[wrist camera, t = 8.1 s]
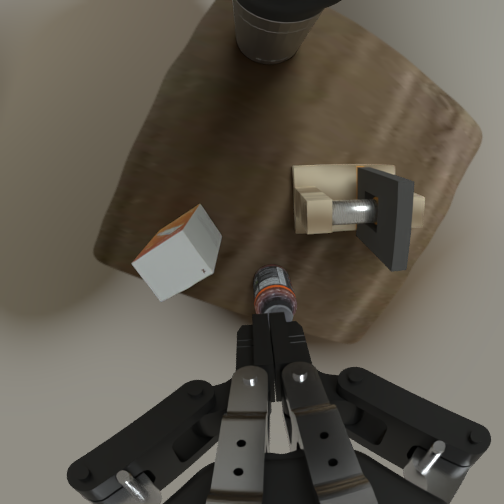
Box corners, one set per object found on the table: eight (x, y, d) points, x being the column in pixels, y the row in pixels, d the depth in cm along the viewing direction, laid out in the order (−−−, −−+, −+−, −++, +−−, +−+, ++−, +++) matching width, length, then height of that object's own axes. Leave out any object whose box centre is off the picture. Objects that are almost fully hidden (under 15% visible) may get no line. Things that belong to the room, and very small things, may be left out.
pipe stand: (292, 165, 42) (306, 175, 32) (390, 164, 42) (427, 174, 32) (294, 230, 46) (308, 258, 36) (388, 225, 46) (421, 248, 36)
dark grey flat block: (357, 167, 38) (398, 181, 27) (370, 167, 38) (414, 181, 27) (356, 235, 42) (391, 271, 31) (368, 234, 42) (406, 269, 31)
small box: (200, 202, 44) (183, 228, 32) (223, 236, 46) (215, 273, 34) (158, 229, 45) (129, 263, 33) (181, 261, 47) (161, 304, 35)
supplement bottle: (290, 293, 50) (300, 334, 39) (254, 296, 50) (257, 338, 40) (288, 260, 48) (300, 297, 37) (251, 264, 48) (253, 301, 37)
